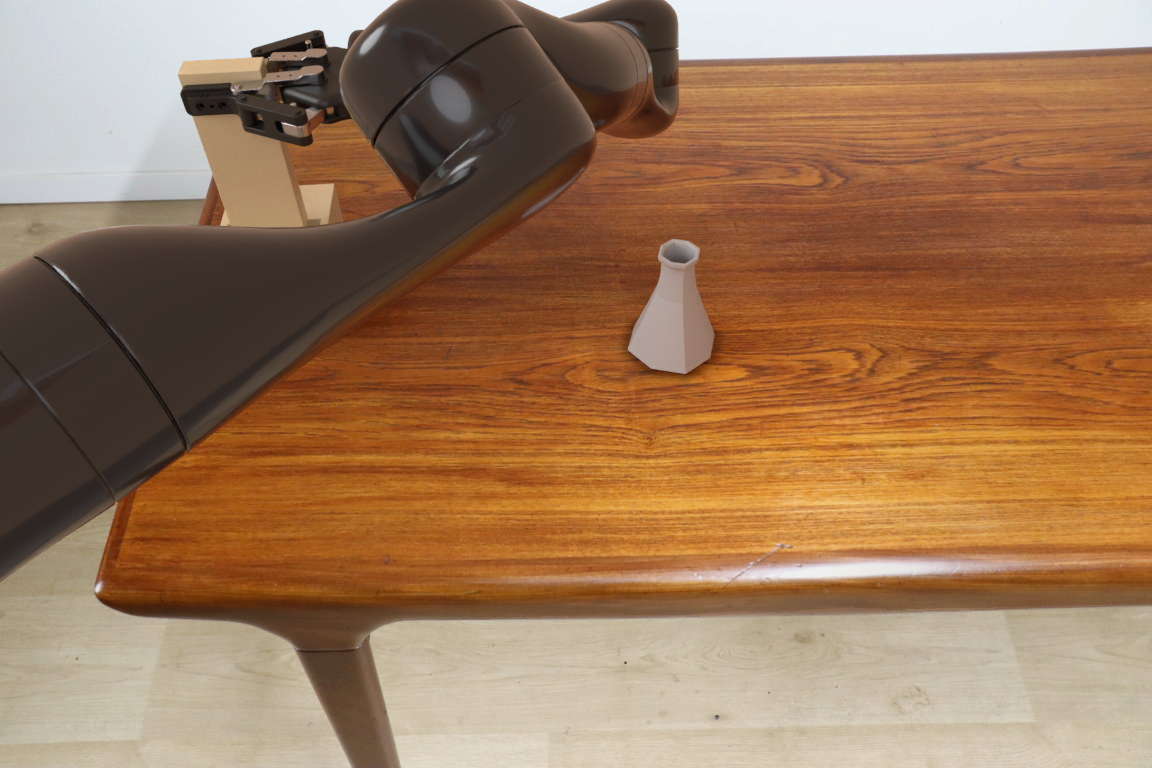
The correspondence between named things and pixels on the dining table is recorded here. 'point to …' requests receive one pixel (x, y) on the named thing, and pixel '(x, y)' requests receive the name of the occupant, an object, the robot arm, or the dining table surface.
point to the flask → (674, 315)
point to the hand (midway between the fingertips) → (188, 92)
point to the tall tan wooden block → (246, 154)
